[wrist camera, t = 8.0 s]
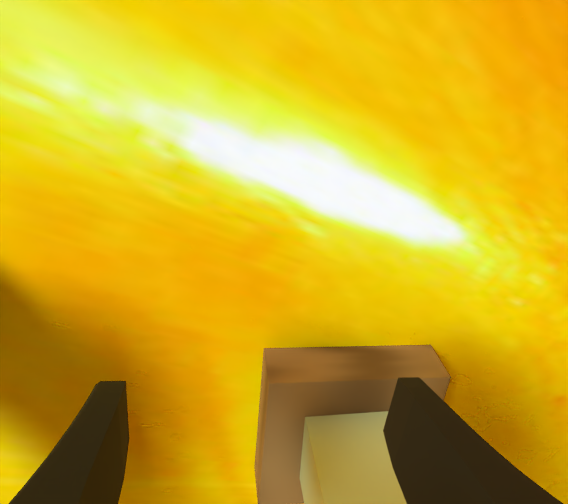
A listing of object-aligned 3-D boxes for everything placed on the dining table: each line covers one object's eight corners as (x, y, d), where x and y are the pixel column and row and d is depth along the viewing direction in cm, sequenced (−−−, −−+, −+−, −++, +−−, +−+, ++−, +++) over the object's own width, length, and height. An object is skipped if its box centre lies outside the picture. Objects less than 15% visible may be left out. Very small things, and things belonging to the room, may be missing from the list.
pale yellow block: (299, 477, 26) (317, 576, 21) (305, 416, 24) (326, 513, 19) (380, 470, 26) (414, 565, 22) (393, 410, 24) (433, 503, 20)
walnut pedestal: (254, 460, 29) (258, 506, 26) (262, 342, 25) (269, 383, 22) (395, 451, 31) (413, 495, 28) (426, 338, 26) (450, 377, 24)
